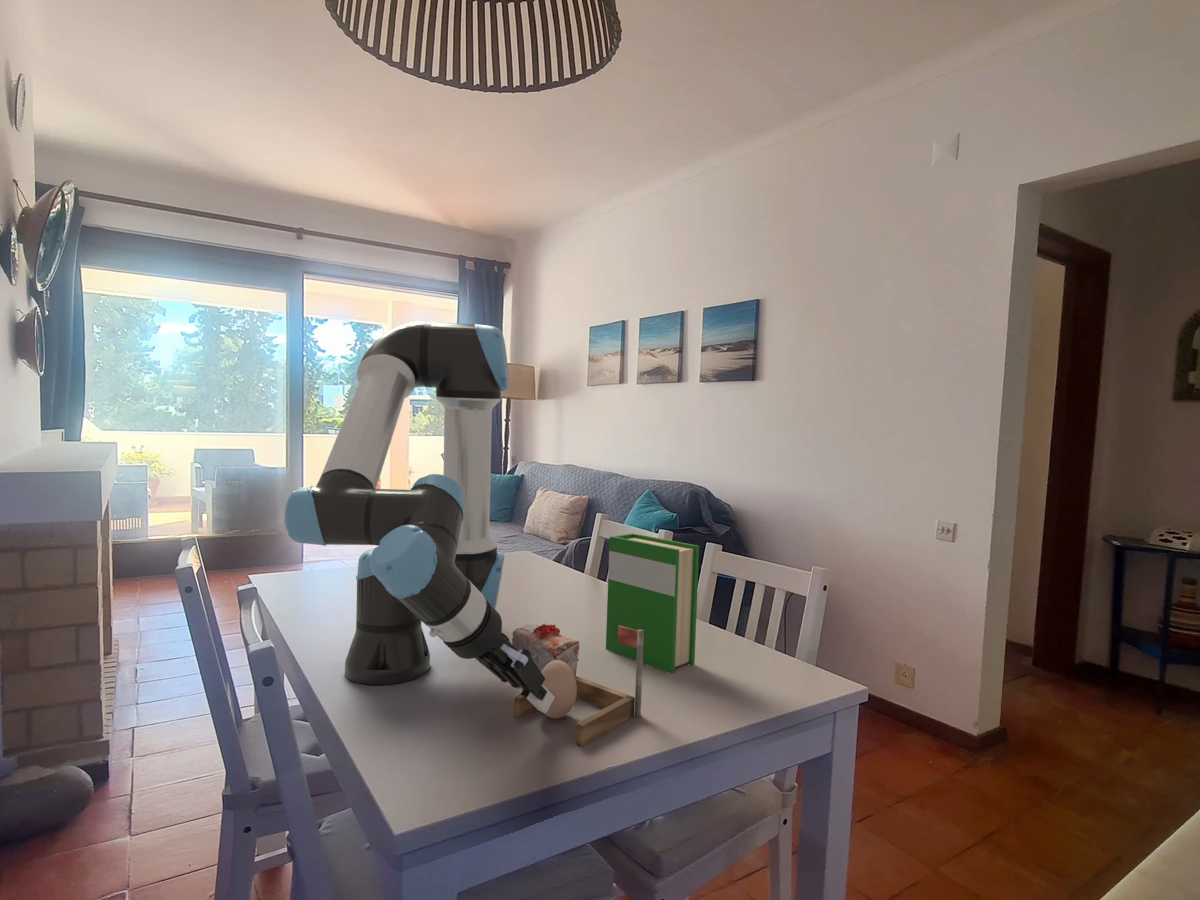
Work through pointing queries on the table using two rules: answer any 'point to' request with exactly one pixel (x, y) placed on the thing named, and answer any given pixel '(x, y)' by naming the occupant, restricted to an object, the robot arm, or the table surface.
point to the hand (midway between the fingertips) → (546, 703)
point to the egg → (560, 688)
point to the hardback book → (653, 598)
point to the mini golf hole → (602, 696)
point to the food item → (546, 645)
